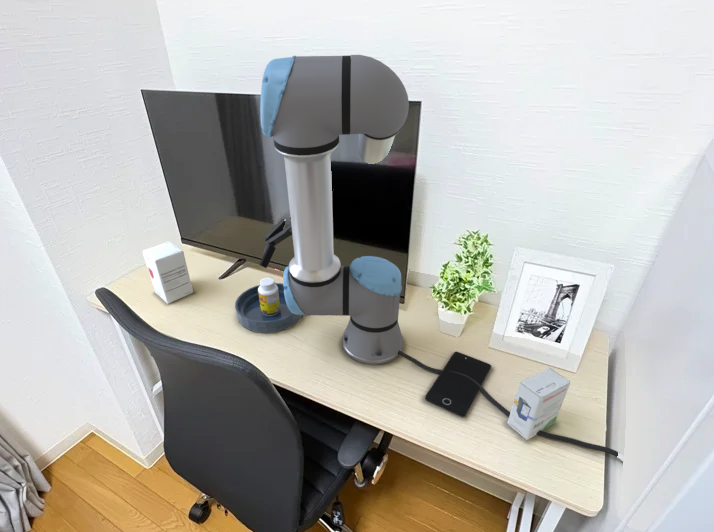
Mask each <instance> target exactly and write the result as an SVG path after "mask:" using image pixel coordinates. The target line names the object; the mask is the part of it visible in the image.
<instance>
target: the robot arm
mask: <svg viewBox="0 0 714 532" xmlns="http://www.w3.org/2000/svg"><path fill="white" fill-rule="evenodd" d="M260 88H261V89H260V102H259V103H260V107H259V109H260V111H259V112H260V113H259V114H260V128H261V131H262V134H263V135H264V136H265V137H267V138H272V139H273V147H274V150H275V151H276V152H277V153H279V154H280V155H282V156H283V161H284V168H285V178H286V188H287V198H288V207H289V215H290V216H289V217H291V220H290V224H288V225H287V226H286V227H285V229H284V230H283V227H284V225H285V222H286V219H282V218H281V219H279V221H278V222H277V223H276V224H275V226H273V227H272V228H271V230H269V231H268V232H267V233H266V234H265V235H264V236H263V241H264V242H265V243H266V245H265V247H264V250H263V252H262V255H263V256H262V257H261V259H260V261H259V266H261V267H262V268H263V269H267V268H268V266H269V265H270V261H271V259H272V257H273V255H274V253H275V251H276V246H277V245H279V244H280V243H281V242H283V241H284V240H286V239H288V238H289V237H290V236H291V237H292V245H293V246H292V247H293V254H294V256H293V257H292V258H291V260H290V261H289V263H288V266H286V267H284V271H283V275H282V276H283V277H282V284H283V286H284V296H285V300H286V304H287V306H288V308H289V310H290V311H291V312H292V313H294V314H297V315H303V316H306V317H310V316H334V317H335V316H342V317H346V316H349V320H348V323H347V325H346V327H345V329H344V332H343V335H342V348H343V351H344V352H345V354H346V355H347V356H348V357H349V358H350V359H352V360H353V361H356V362H358V363H360V364H364V365H371V366H372V365H373V366H379V365H385V364H388V363H391V362H393V361H394V360H396V359H397V358H398V357H402V358H403V359H406V360H408V361H410V362H412V363H413V364H415V365H416V366H418V367H419V368H421V369H423V370H425V371H428V372H430V373H434V374H438V375H440V373H441V372H442V371H443V369H440V368H435V367H432V366H429V365H426V364H425V363H423V362H421V361H419V360H418V359H417V358H415V357H413V356H411V355H409V354H408V353H406V352H404V351H403V349H404V337H403V335H402V331H401V327H400V324H399V314H400V313H399V312H400V302H401V293H402V291H403V287H402V272H401V271H400V269H399V267H398V266H397V265H396V264H394V263H393V262H391V261H390V260H388V259H385V258H383V257H379V256H374V255H365V256H363V255H362V256H361V257H357V258H355V259H353V260H352V262H351V263H350V264H349V265H341V260H340V258H339V257H338V256H337V255H336V254H335V253H334V217H333V213H334V212H333V191H332V171H331V160H332V159H331V153H332V152H333V151H334V150H335V149H336V148H337V147H338V145H339V144H340V136H343V135H347V136H349V135H358V143H357V144H358V152H359V155H360V157H361V159H362V160H363V161H364V162H366V163H368V164H375V163H378V162H380V161H382V160H383V159H384V158H385V157H386V156H387V155H388V153H389V151H390V149H391V146H392V144H394V140H395V137H396V135H398V134H399V132H400V131H402V129H403V127H404V126H405V124H406V121H407V119H408V115H409V112H410V111H409V110H410V101H409V96H408V92H407V90H406V87H405V85H404V83H403V82H402V80H401V78H400V77H399V76H398V75H397V73H396V72H395V71H394V70H392V68H391V67H390V66H388V65H387V64H385V63H384V62H382V61H381V60H378V59H377V58H374V57H372V56H368V55H364V54H350V55H300V56H299V55H292V56H289V57H287V56H286V57H279V58H273V59H271V60H270V61H269V62H268V63H267V64H266V65H265V68H264V71H263V73H262V80H261V87H260ZM444 371H445V370H444ZM450 372H454V371H450ZM454 373H458V374H461V375H463V376H466V377H467V378H469V379H471V380H472V381H474V382H475V383H476V384H477V385H478V386H479V387H480V388H479V392H480V393H481V394H482V396H484V397H485V398H486V399H487V400H488V401H489V402H490V403H491V404H492V405H493V406H495V407H496V408H497V409H498V410H499V411H501V413H503V414H504V415H505V416H506V417H508V418H509V416H510V413H511V411H509V410H508V409H507V408H506V407H504V406H503V405H502V404H501V403H499V402H498V401H497V400H496V399H495V398H494V397H492V395H491V394H489V392H488V391H487V390H486V389H485V388H484V387H483V386H482V385H480V384H479V383H478V382H476V381H475V380H474V379H472V378H471V377H469V376H467V375H465V374H462V373H459V372H454ZM536 436H541V437H544V438H546V439H550V440H555V441H560V442H563V443H568V444H572V445H575V446H577V447H578V446H579V447H582V448H585V449H588V450H589V449H590V450H592V451H598V452H601V453H605V454H608V455H610V456H614V457H615V458H617V456H618V452H619V451H617V450H615V449H613V448H610V447H606V446H603V445H599V444H595V443H590V442H586V441H583V440H578V439H576V438H573V437H569V436H566V435H565V436H564V435H560V434H555V433H550V432H547V431H545V430H543V431H541V430H539V431H538V432H537V433H536Z"/></svg>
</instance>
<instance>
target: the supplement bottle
mask: <svg viewBox="0 0 714 532" xmlns="http://www.w3.org/2000/svg"><path fill="white" fill-rule="evenodd" d="M275 283H276V282H275V280H274V279H273V278H271V277H264V278H261V279H260V281H259V285H260V286H259V288H258V294H259V301H260V307H261V312H262V314H263V315H265V316H274V315H277V314H278V313H279V312H280V301H279V292H278V286H277V285H276V284H275Z"/></svg>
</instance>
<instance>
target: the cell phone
mask: <svg viewBox="0 0 714 532" xmlns="http://www.w3.org/2000/svg"><path fill="white" fill-rule="evenodd" d="M491 368H492V364H490V363H489V362H485V361H483V360H480V359H477V358H475V357H473V356H470V355H467V354H465V353H462V352H459V351H454V352H453V354H452V355H451V357H450V358H449V360H448V361H447V363H446V364H445V365H444V367H443V368H442V370H443V371H442V372H441V373H440V374H438V376H437V378H436V379H435V381H434V382H433V384H432V385H431V387H430V388H429V390H427V393H426V394H425V397H424V400H425V401H426V402H428V403H431V404H433V405H434V406H437V407H440V408H441V409H444V410H446V411H448V412H450V413H452V414H455V415H457V416H459V417H461V418H464V417H466V415H467V413H468V411H469V410H470V407H471V406H472V404H473V403H474V400H475V398H476V396H477V394H478V393H479V392H480V390H479V388H480V387H479V386H478V385H477V384H476V383H475V382H474V381H472V380H471V379H469V378H467V377H466V376H463V375H461V374H458V373H454V372H459V373H462V374H465V375H467V376H469V377H471V378H472V379H474V380H475V381H476V382H478V383H479V384H480V385H481V386H482V385H483V384H484V382H485V379H486V378H487V376H488V374H489V372H490V370H491ZM444 370H445V371H444ZM450 371H454V372H450Z"/></svg>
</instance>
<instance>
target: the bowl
mask: <svg viewBox="0 0 714 532" xmlns="http://www.w3.org/2000/svg"><path fill="white" fill-rule="evenodd" d="M274 283H275V284H276V285H277V286H278V292H279V301H280V312H279V313H278V314H277V315H274V316H265V315H263V314H262V312H261V307H260V301H259V294H258V288H259V286H260V284H258V285H255V286H252V287H249V288H248V289H246V290H244V291H243V292H242V293H241V294H240V295H238V296H237V298H236V300H235V304H234V309H235V314H236V315H235V316H236V319H237V321H238V323H239V324H240V325H241V326H242V327H243V328H244V329H247V330H249V331H252V332H255V333H262V334H269V333H277V332H281V331H284V330H287V329H289V328H292V327H293V326H295V325H296V324H297V323H298V322H300V321H301V319H302V318H303V317H304V315H297V314H294V313H292V312H291V311H290V310H289V308H288V306H287V304H286V300H285V296H284V286H283V282H282V283H281V282H274Z"/></svg>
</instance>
